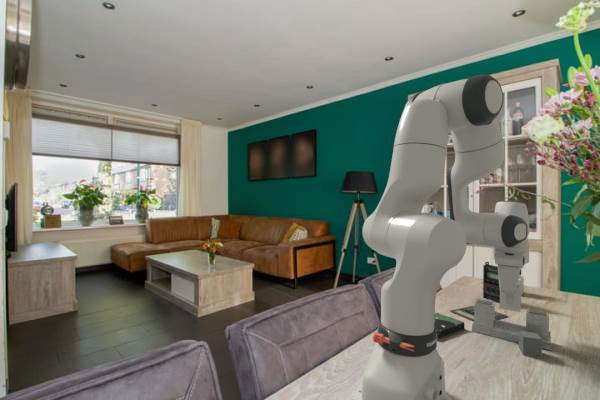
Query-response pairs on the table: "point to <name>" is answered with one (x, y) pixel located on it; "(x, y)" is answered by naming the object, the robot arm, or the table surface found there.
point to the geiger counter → (491, 283)
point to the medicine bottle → (521, 282)
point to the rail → (510, 324)
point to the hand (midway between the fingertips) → (510, 300)
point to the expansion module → (516, 301)
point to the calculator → (469, 313)
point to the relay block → (530, 344)
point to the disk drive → (446, 325)
